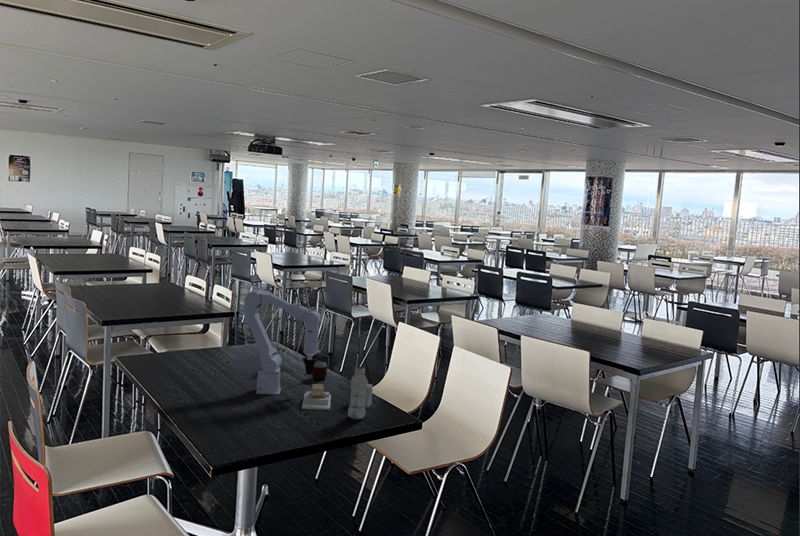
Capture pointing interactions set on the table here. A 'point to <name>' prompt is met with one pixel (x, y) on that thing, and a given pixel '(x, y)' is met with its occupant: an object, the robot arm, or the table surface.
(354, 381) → the plastic bottle
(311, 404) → the keyed cradle
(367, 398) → the medicine box
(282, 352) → the food container
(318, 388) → the keyed peg
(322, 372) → the mate gourd
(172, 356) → the table surface
